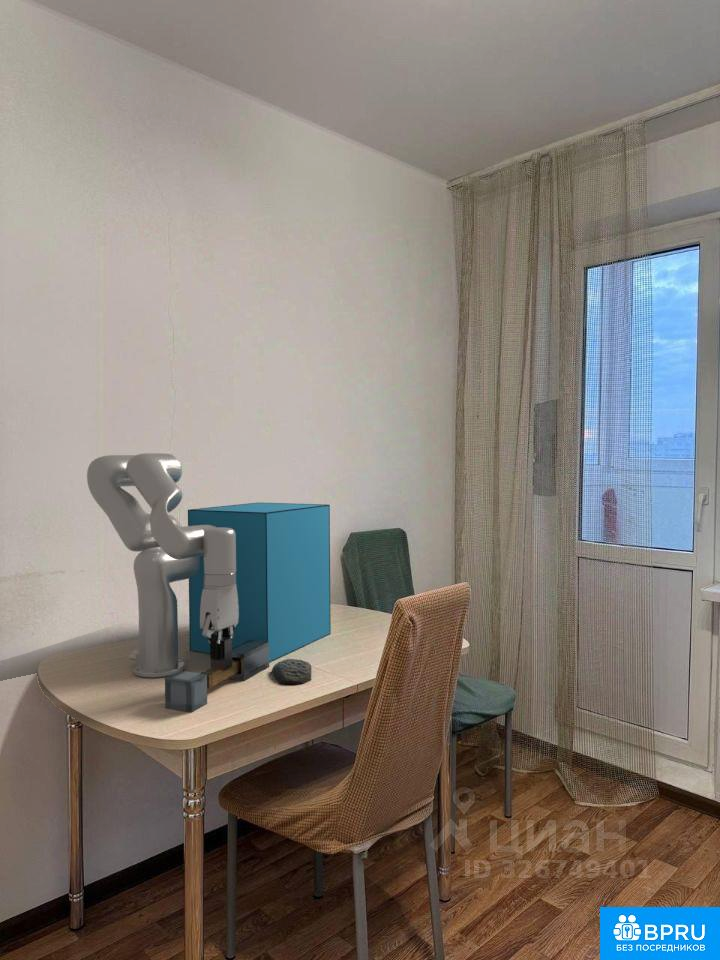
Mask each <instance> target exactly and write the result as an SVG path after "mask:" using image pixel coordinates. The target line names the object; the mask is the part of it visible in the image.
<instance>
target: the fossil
mask: <svg viewBox="0 0 720 960" xmlns="http://www.w3.org/2000/svg"><path fill="white" fill-rule="evenodd" d="M271 675H272V677H273V678H275V682H278V684H280V685H282V686H292V687H293V686H301V685H305V684H307V683H309V682H311V681H312V665H311V663H310V662H308V661H306V660H305V661H304V660H302V659H298V658H287V659H283V660H280V661H278V662H277V663H275V664H274V665H273V667H272V669H271Z"/></svg>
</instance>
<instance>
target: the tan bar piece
mask: <svg viewBox="0 0 720 960" xmlns="http://www.w3.org/2000/svg"><path fill="white" fill-rule="evenodd" d="M221 643H223V659H222V660H214V659H211V658H210V668H208V669H207V670H205V671H201V672H200V674H207V689H209V688H212V687H213V686H215V685H218V683H221V682H222V681H224V680H226V679H227V678H228V677H230V676H232V675H234V674H236V673H238V672H240V671H241V658H235V657H233V658H232V638H230V637H221Z"/></svg>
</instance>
